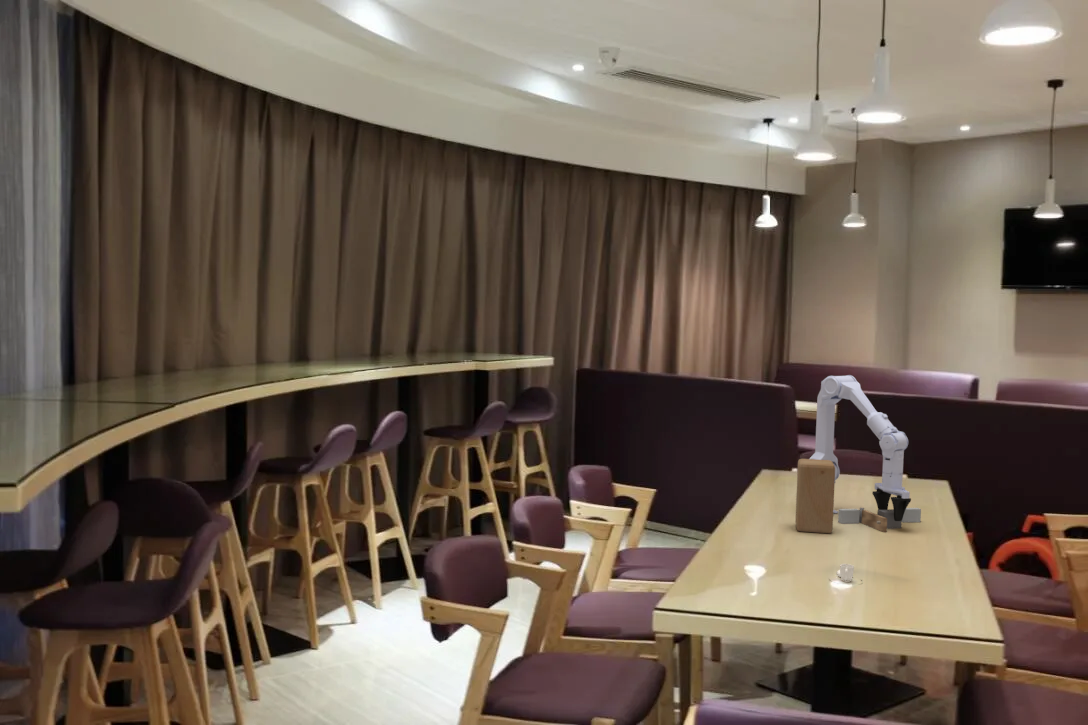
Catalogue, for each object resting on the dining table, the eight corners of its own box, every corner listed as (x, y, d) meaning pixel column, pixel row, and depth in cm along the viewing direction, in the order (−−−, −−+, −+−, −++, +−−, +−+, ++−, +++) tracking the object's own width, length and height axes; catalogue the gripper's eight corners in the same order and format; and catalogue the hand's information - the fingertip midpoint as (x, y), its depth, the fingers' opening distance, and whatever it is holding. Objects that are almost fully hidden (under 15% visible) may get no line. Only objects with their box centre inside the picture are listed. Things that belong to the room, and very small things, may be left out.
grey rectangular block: (883, 529, 296) (884, 512, 296) (876, 526, 299) (877, 509, 299) (901, 528, 298) (902, 511, 297) (894, 525, 301) (894, 509, 301)
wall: (841, 523, 302) (841, 509, 301) (838, 522, 304) (838, 507, 303) (920, 522, 306) (921, 507, 306) (916, 520, 308) (917, 506, 308)
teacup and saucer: (838, 575, 246) (838, 558, 246) (869, 581, 241) (870, 564, 240) (822, 582, 239) (823, 565, 239) (855, 589, 234) (855, 571, 234)
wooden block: (832, 534, 287) (835, 465, 286) (796, 532, 289) (799, 463, 288) (829, 526, 297) (832, 459, 296) (795, 524, 299) (797, 457, 298)
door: (859, 523, 303) (859, 510, 302) (864, 523, 303) (865, 510, 303) (881, 532, 291) (881, 518, 291) (886, 531, 292) (887, 518, 292)
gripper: (919, 476, 292) (917, 522, 292) (889, 468, 305) (887, 512, 306) (898, 477, 290) (896, 523, 291) (869, 468, 304) (867, 513, 304)
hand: (890, 518), depth 298 cm, fingers open, 7 cm apart
